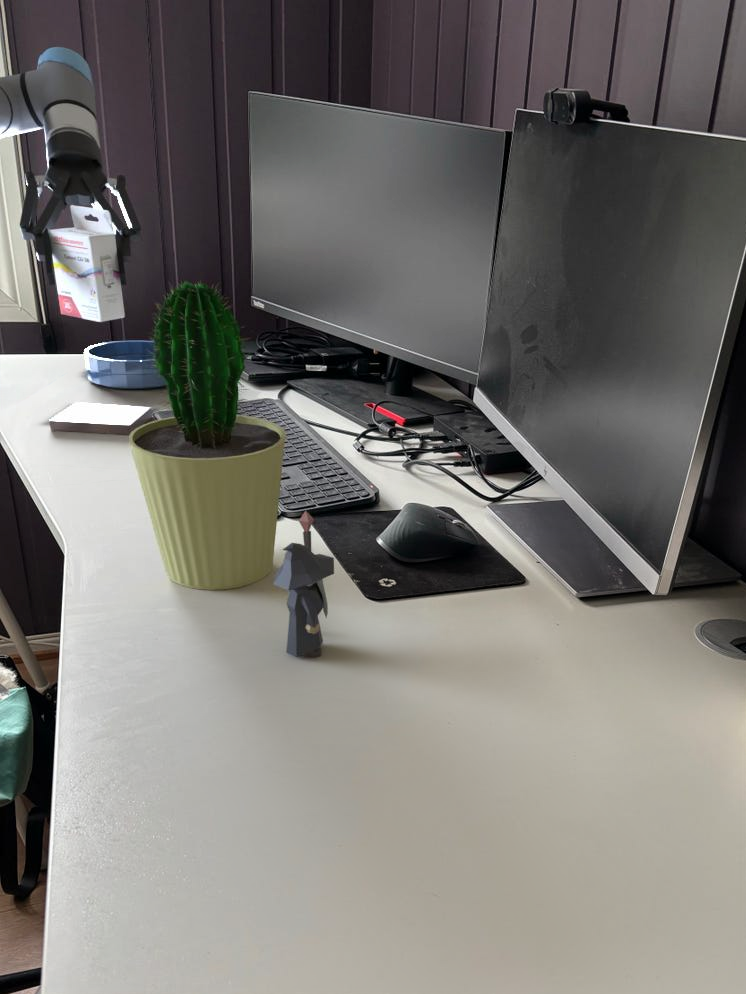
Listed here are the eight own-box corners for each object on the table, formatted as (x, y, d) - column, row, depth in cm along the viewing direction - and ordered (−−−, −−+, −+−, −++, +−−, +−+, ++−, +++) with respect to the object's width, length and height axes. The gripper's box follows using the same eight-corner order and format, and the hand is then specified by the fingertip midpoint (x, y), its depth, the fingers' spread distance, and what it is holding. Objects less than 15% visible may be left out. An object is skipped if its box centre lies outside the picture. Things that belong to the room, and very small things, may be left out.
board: (50, 430, 142) (48, 420, 142) (77, 412, 151) (75, 402, 150) (131, 435, 142) (129, 425, 142) (152, 416, 151) (151, 407, 150)
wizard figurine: (345, 660, 88) (343, 540, 82) (285, 671, 86) (279, 548, 80) (318, 621, 94) (314, 506, 88) (262, 630, 92) (254, 513, 86)
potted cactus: (321, 569, 105) (312, 280, 90) (201, 613, 94) (169, 295, 80) (236, 528, 113) (215, 259, 99) (117, 565, 103) (74, 270, 88)
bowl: (73, 387, 163) (69, 358, 161) (108, 365, 177) (104, 338, 175) (168, 393, 163) (165, 363, 161) (195, 371, 177) (193, 343, 175)
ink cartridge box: (58, 314, 141) (41, 206, 134) (85, 310, 145) (70, 204, 138) (101, 322, 138) (86, 212, 131) (127, 318, 142) (113, 210, 135)
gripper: (151, 169, 148) (167, 295, 143) (-2, 163, 142) (9, 295, 136) (148, 131, 141) (165, 262, 136) (-13, 124, 135) (-2, 261, 129)
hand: (87, 278), depth 136 cm, fingers closed on ink cartridge box, 9 cm apart
